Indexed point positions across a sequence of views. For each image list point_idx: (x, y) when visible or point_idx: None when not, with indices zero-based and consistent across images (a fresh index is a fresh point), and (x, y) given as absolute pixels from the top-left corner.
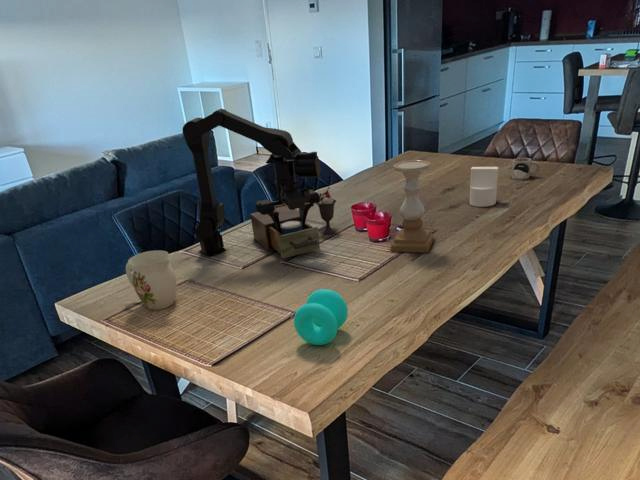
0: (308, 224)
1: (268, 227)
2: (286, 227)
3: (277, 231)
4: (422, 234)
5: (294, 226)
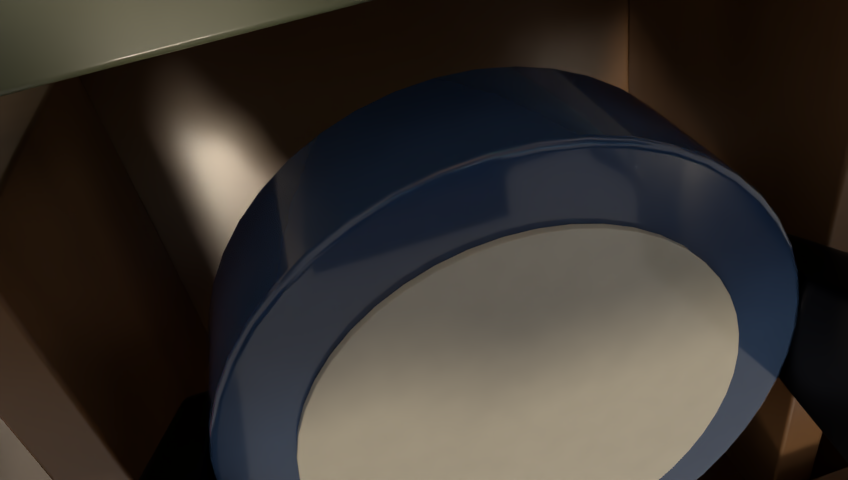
0: (44, 447)
1: (802, 467)
2: (699, 259)
3: (842, 218)
4: None
5: (499, 245)
